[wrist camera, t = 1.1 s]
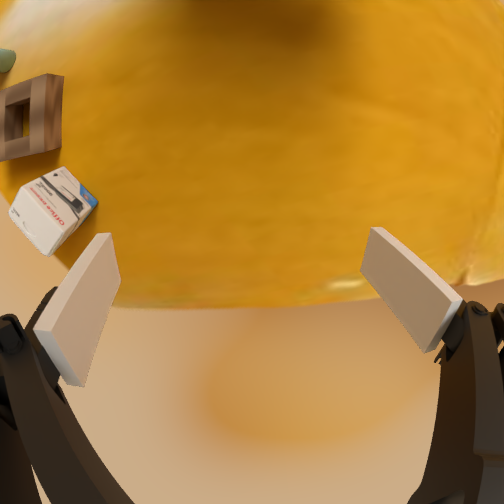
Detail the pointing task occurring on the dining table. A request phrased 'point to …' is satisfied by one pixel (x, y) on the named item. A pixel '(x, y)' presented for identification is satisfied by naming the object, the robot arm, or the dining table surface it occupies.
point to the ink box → (51, 209)
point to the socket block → (31, 116)
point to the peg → (6, 60)
